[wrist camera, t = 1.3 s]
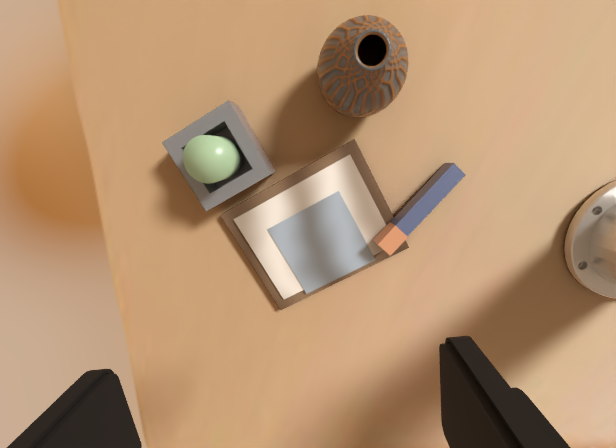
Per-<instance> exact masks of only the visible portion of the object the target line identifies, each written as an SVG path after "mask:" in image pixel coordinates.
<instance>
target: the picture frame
mask: <svg viewBox="0 0 616 448" xmlns="http://www.w3.org/2000/svg"><path fill="white" fill-rule="evenodd" d="M220 216H221V217H222V219H223V220H224V222H225V223H226V225H227V227H228V228H229V230H230V231H231V233H232V234H233V236H234V238H235V239H236V241H237V242H238V244H239V245H240V247H241V249H242V250H243V252H244V253H245V255H246V256H247V258H248V259H249V261H250V263H251V264H252V266H253V267H254V269H255V270H256V272H257V274H258V275H259V277H260V278H261V280H262V281H263V283H264V285H265V286H266V288H267V289H268V291H269V292H270V294H271V296H272V297H273V299H274V300H275V302H276V303H277V305H278V307H279V308H280V310H282V309H284V308H286V307H288V306H290V305H292V304H294V303H296V302H298V301H300V300H302V299H305V298H307V297H309V296H311V295H313V294H315V293H317V292H319V291H321V290H323V289H325V288H327V287H329V286H331V285H333V284H335V283H337V282H339V281H341V280H343V279H346V278H348V277H350V276H352V275H354V274H356V273H358V272H360V271H362V270H364V269H366V268H368V267H370V266H372V265H374V264H376V263H378V262H380V261H382V260H384V259H386V258H389V257H391V256H393V255H395V254H397V253H399V252H401V251H403V250H405V249H407V248H409V247H408V245H407V243H406V241H404V242H403V243H402V244H401V245H400V246H399V247H398V248H397V250H396V251H395V252H394V253H393V254H392V255H391V256H390V255H389V254H388V253H387V252H385V251H384V250H383V249H382V248H381V247H380V246H379V245H378V244H376V243H375V242H374V241H373V239H374V238H375V237H376V236H377V235H378V234H379V233H380V232H381V231H382V230H383V228H384V227H385V226H386V225H387V224H388V223H389V222H391V221H392V219H393V218H394V217H393V215H392V213H391V211H390V209H389V207H388V205H387V203H386V201H385V199H384V197H383V195H382V193H381V191H380V189H379V187H378V185H377V183H376V181H375V179H374V177H373V175H372V173H371V171H370V169H369V167H368V165H367V163H366V161H365V159H364V157H363V155H362V153H361V151H360V149H359V147H358V145H357V143H356V141H355V139H354V140H352V141H350V142H348V143H347V144H345V145H343V146H341V147H339V148H338V149H336V150H334V151H332V152H331V153H329V154H327V155H325V156H324V157H322V158H320V159H318V160H316V161H315V162H313V163H311V164H309V165H308V166H306V167H304V168H302V169H301V170H299V171H297V172H295V173H293V174H292V175H290V176H288V177H286V178H285V179H283V180H281V181H279V182H278V183H276V184H274V185H272V186H270V187H269V188H267V189H265V190H263V191H262V192H260V193H258V194H256V195H255V196H253V197H251V198H249V199H248V200H246V201H244V202H242V203H240V204H239V205H237V206H235V207H233V208H232V209H230V210H228V211H226V212H225V213H223V214H221V215H220Z"/></svg>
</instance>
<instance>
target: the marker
mask: <svg viewBox="0 0 616 448" xmlns="http://www.w3.org/2000/svg"><path fill="white" fill-rule="evenodd" d="M464 176H465V174H464V173H463V172H462V171H461V170H460V169H459V168H458V167H457V166H456V165H455V164H454V163H445V164H444V165H443V166H442V167H441V168H440V169H439V170H438V171H437V172H436V173H435V174H434V175H433V176H432V178H431V179H430V180H429V181H428V182H427V183H426V184H425V185H424V186H423V187H422V188H421V189H420V190H419V192H418V193H417V194H416V195H415V196H414V197H413V198H412V199H411V200H410V201H409V202H408V203H407V204H406V206H405V207H404V208H403V209H402V210H401V211H400V212H399V213H398V214H397V215H396V216H395V217H394V218H393V219H392V221H391V222H389V223H388V224H387V225H386V226H385V227H384V228H383V230H382V231H381V232H380V233H379V234H378V235H377V236H376V237H375V238H374V239H373V241H374V242H375V243H376V244H378V245H379V246H380V247H381V248H382V249H383V250H384V251H385V252H387V253H388V254H389V255H390V256H391V255H392V254H393V253H394V252H395V251H396V250H397V248H398V247H399V246H400V245H401V244H402V243H403V242H404V241H405V240H406V239H407V238H408V237H407V236H408V235H409V234H410V233H411V232H412V231H413V230H414V229H415V228H416V227H417V226H418V225H419V224H420V223H421V222H422V221H423V219H424V218H425V217H426V216H427V215H428V214H429V213H430V212H431V211H432V210H433V209H434V208H435V207H436V206H437V205H438V204H439V203H440V201H441V200H442V199H443V198H444V197H445V196H446V195H447V194H448V193H449V192H450V191H451V190H452V189H453V188H454V187H455V186H456V185H457V183H458V182H459V181H460V180H461V179H462V178H463V177H464Z"/></svg>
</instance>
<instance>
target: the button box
mask: <svg viewBox="0 0 616 448" xmlns="http://www.w3.org/2000/svg"><path fill="white" fill-rule="evenodd" d="M199 135H212V136H221V137H226V138H229V139H231V140H232V141H234V142H235V143H236V144H237V146H238V147H239V149H240V151H241V154H242V164H241V167H240V169H239V171H238V172H237V173H236V174H235V175H234V176H232V177H230V178H227V179H224V180H221V181H218V182H215V183H209V184H208V183H202V182H199V181H197V180H195V179H194V178H193V177H191V176H190V174H189V173H188V172H187V170H186V168H185V166H184V163H183V152H184V149H185V146H186V145H187V143H188V142H189V141H190V140H191V139H192V138H194V137H196V136H199ZM162 144H163V145H164V147H165V148H166V150H167V151H168V153H169V154H170V156H171V158H172V159H173V161H174V162H175V164H176V165H177V167H178V168H179V170H180V172H181V173H182V175H183V176H184V178H185V179H186V181H187V182H188V184H189V185H190V187H191V189H192V190H193V192H194V193H195V195H196V196H197V198H198V199H199V201H200V202H201V204H202V206H203V207H204V209H205V210H206V211H208V210H210V209H211V208H213V207H215V206H217V205H218V204H220V203H222V202H224V201H225V200H227V199H229V198H231V197H232V196H234V195H236V194H238V193H239V192H241V191H243V190H245V189H246V188H248V187H250V186H252V185H253V184H255V183H257V182H259V181H260V180H262V179H264V178H266V177H267V176H269V175H271V174H273V173H274V172H276V171H275V169H274V167H273V165H272V164H271V162H270V160H269V158H268V157H267V155H266V153H265V151H264V150H263V148H262V146H261V144H260V143H259V141H258V139H257V137H256V136H255V134H254V132H253V131H252V129H251V127H250V125H249V124H248V122H247V120H246V118H245V117H244V115H243V113H242V111H241V110H240V108H239V106H238V105H237V104H235V103H233V102H231V101H229V100H228V101H227V102H225V103H223V104H222V105H220V106H219V107H217V108H216V109H214V110H212V111H211V112H209V113H208V114H206V115H205V116H203V117H201V118H200V119H198V120H197V121H195V122H193V123H192V124H190V125H189V126H187V127H186V128H184V129H182V130H181V131H179V132H178V133H176V134H175V135H173V136H171V137H170V138H168V139H167V140H165V141H163V142H162Z"/></svg>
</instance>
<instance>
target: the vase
mask: <svg viewBox="0 0 616 448" xmlns="http://www.w3.org/2000/svg"><path fill="white" fill-rule="evenodd" d="M407 70H408V53H407V48H406V45H405V42H404V39H403V37H402V35H401V34H400V32H399V31H398V30H397V29H396V27H395V26H393V25H392V24H391V23H390V22H388V21H387V20H385V19H383V18H380V17H377V16H370V15H365V16H358V17H354V18H352V19H349V20H347V21H345V22H344V23H342V24H341V25H339V26H338V27H337V28H336V29H335V30H334V31H333V32H332V33H331V34H330V35H329V37H328V38H327V40H326V41H325V43H324V45H323V47H322V50H321V52H320V56H319V60H318V68H317V75H318V82H319V86H320V89H321V92H322V94H323V96H324V98H325V99H326V101H327V102H328V103H329V105H330V106H331V107H332V108H334V109H335V110H336V111H338V112H340V113H341V114H344V115H347V116H351V117H366V116H370V115H373V114H375V113H378V112H379V111H381V110H383V109H384V108H386V107H387V106H388V105H389V104H390V103H391V102H392V101H393V100H394V99H395V98H396V97H397V95H398V94H399V92H400V90H401V88H402V87H403V84H404V82H405V79H406V75H407Z"/></svg>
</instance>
